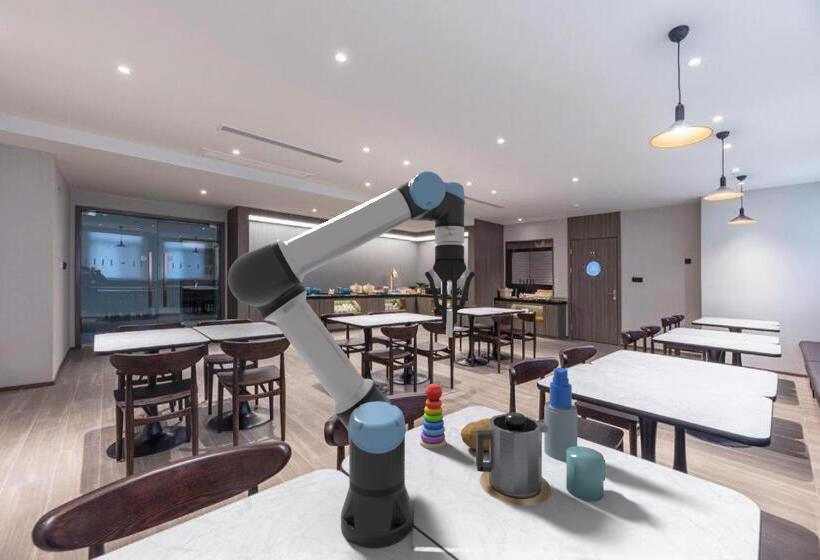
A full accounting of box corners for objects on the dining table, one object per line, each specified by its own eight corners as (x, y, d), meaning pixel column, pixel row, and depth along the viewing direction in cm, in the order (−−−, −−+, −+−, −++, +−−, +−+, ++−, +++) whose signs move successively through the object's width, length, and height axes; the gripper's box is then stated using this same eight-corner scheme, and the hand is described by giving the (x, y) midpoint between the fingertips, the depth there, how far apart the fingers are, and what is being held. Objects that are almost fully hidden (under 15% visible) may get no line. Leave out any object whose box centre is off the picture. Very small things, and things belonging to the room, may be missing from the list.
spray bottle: (547, 445, 112) (548, 364, 112) (579, 452, 107) (579, 368, 107) (541, 457, 105) (541, 370, 105) (574, 465, 100) (575, 374, 100)
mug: (583, 506, 82) (583, 464, 82) (559, 487, 90) (559, 448, 90) (617, 499, 85) (617, 458, 85) (590, 480, 93) (591, 443, 93)
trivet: (485, 506, 82) (485, 503, 82) (475, 467, 99) (475, 465, 99) (562, 509, 81) (562, 506, 81) (539, 469, 98) (539, 467, 98)
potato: (459, 442, 114) (459, 413, 114) (509, 443, 113) (509, 413, 113) (462, 456, 105) (462, 424, 105) (516, 457, 105) (516, 424, 105)
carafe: (480, 497, 84) (480, 433, 84) (473, 469, 97) (473, 413, 97) (554, 500, 83) (554, 434, 83) (538, 471, 96) (538, 414, 96)
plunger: (499, 473, 86) (499, 422, 86) (492, 454, 95) (492, 408, 95) (539, 474, 85) (539, 423, 85) (528, 455, 94) (528, 409, 94)
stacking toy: (447, 451, 108) (447, 388, 108) (420, 451, 108) (420, 388, 108) (444, 439, 116) (445, 380, 116) (419, 439, 116) (420, 380, 116)
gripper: (423, 243, 90) (423, 338, 90) (477, 243, 89) (476, 339, 90) (424, 246, 98) (424, 334, 98) (473, 246, 97) (473, 334, 97)
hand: (449, 336), depth 94 cm, fingers closed
